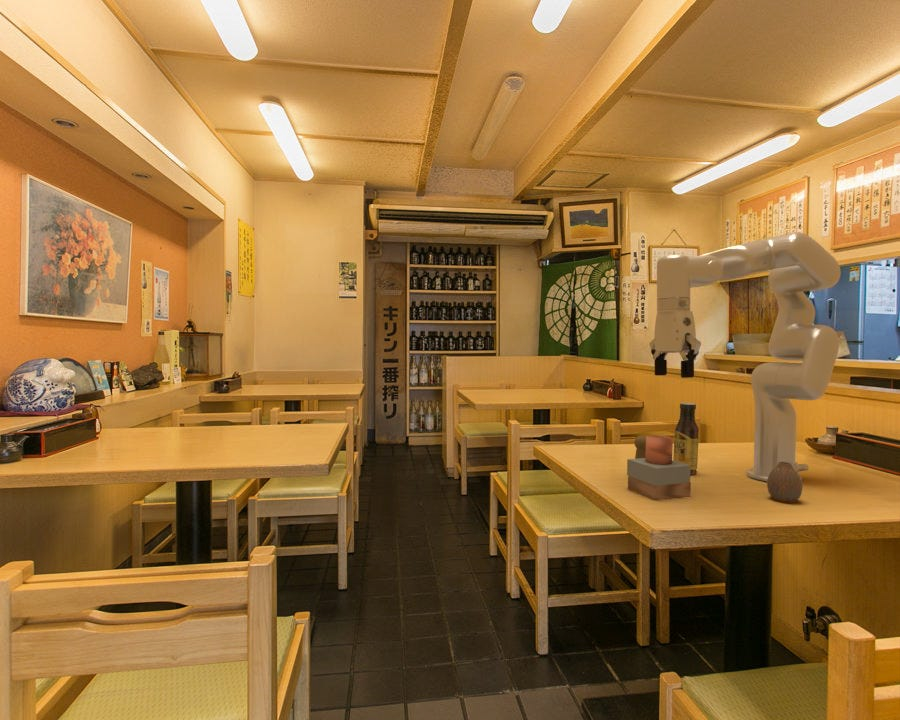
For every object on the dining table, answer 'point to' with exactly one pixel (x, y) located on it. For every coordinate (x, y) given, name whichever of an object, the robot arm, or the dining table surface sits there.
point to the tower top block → (658, 472)
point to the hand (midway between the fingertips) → (673, 376)
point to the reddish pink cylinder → (659, 449)
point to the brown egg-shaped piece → (784, 483)
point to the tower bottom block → (659, 489)
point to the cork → (640, 447)
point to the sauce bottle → (686, 437)
